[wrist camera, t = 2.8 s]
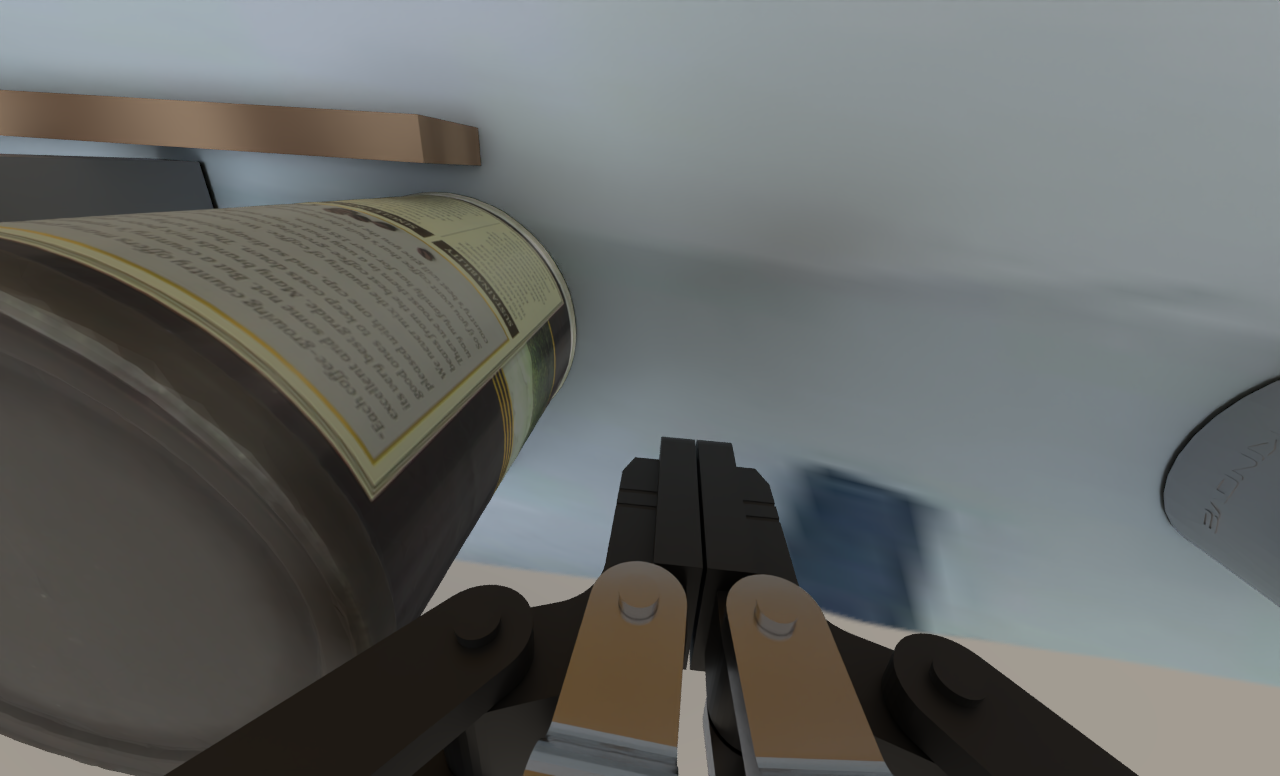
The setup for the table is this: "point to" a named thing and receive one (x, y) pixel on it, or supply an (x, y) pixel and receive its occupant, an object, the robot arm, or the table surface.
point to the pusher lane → (239, 127)
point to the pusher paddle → (97, 186)
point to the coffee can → (247, 450)
